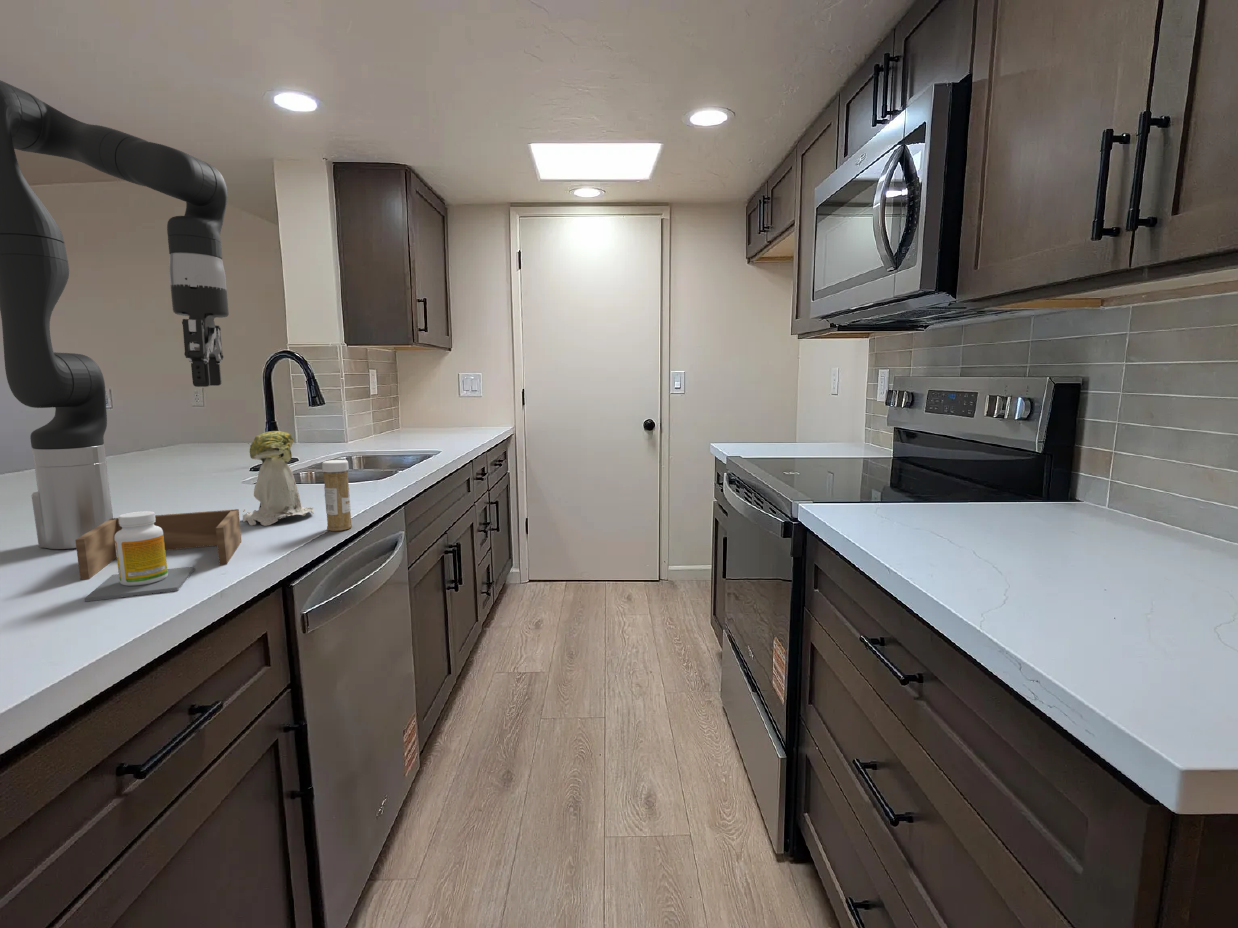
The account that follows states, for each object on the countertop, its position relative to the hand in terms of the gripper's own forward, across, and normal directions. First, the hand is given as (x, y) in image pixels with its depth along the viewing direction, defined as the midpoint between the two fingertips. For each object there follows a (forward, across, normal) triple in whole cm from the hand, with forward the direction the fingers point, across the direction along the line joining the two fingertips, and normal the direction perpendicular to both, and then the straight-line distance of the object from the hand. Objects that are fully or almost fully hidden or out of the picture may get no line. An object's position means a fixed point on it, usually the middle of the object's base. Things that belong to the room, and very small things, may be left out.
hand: (208, 386), depth 98 cm
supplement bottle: (+28, +17, -6) cm, 33 cm away
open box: (+28, +5, -6) cm, 29 cm away
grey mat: (+28, +18, -6) cm, 33 cm away
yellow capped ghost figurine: (+28, -20, +6) cm, 35 cm away
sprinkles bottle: (+28, -6, +18) cm, 34 cm away
